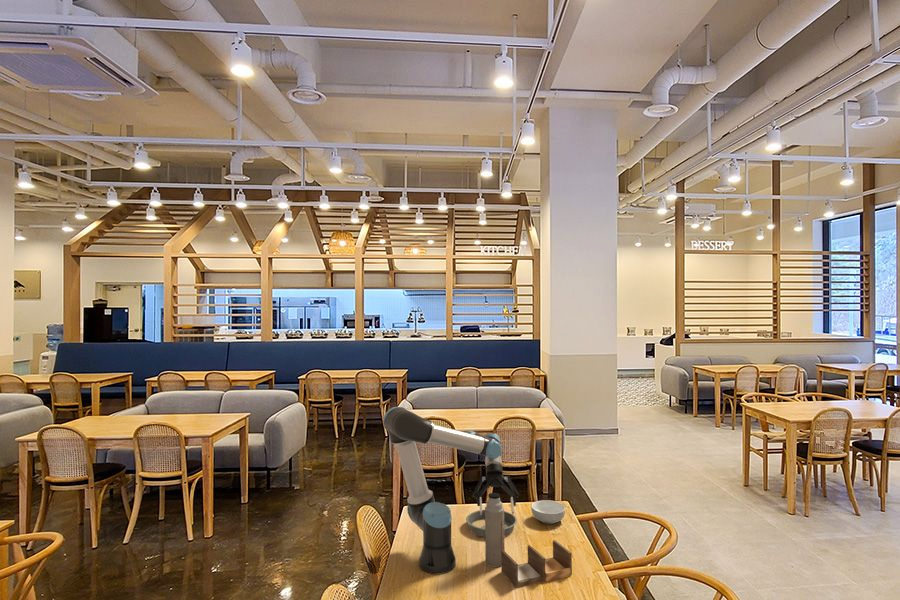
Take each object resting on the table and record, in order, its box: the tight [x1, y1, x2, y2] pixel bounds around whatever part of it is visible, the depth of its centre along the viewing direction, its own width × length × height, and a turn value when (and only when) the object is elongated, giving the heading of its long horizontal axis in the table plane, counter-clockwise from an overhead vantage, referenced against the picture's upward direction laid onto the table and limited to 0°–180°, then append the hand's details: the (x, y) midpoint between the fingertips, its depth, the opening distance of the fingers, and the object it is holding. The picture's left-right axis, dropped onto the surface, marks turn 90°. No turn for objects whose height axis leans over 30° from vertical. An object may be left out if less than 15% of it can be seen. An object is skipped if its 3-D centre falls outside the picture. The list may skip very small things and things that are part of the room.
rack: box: [500, 539, 573, 588], centre depth 197 cm, size 25×13×8 cm, turn 111°
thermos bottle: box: [484, 492, 506, 568], centre depth 206 cm, size 8×8×28 cm
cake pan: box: [465, 509, 518, 538], centre depth 240 cm, size 25×25×4 cm
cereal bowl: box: [530, 499, 566, 525], centre depth 247 cm, size 17×17×7 cm
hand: (497, 513), depth 211 cm, fingers open, 13 cm apart
